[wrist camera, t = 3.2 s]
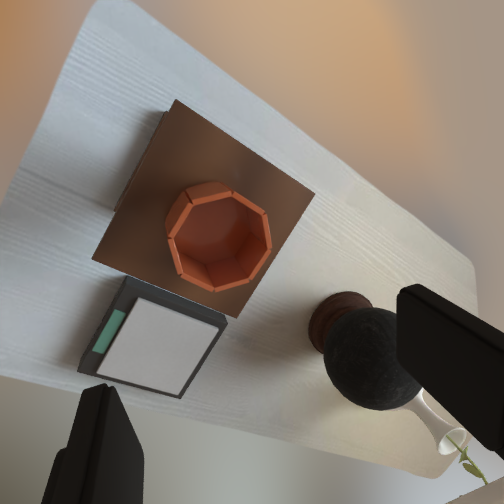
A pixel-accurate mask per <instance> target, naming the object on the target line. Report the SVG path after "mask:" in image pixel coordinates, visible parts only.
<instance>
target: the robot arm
mask: <svg viewBox="0 0 504 504" xmlns="http://www.w3.org/2000/svg"><path fill="white" fill-rule="evenodd" d="M396 356H397V360H398V362H399V364H400V365H401V367H402V368H403V369H404V370H405V371H407V372H408V373H409V374H410V375H411V376H412V377H413V378H414V379H415V380H416V381H417V382H418V383H419V384H420V385H421V386H422V387H423V388H424V389H425V390H426V391H427V392H428V393H429V394H430V395H431V396H432V397H433V398H434V399H435V400H437V401H438V402H439V403H440V404H441V405H442V406H443V407H444V408H445V409H446V410H447V411H448V412H449V413H450V414H451V415H452V416H453V417H454V418H455V419H456V420H457V421H458V422H459V423H460V424H461V425H462V426H463V427H464V428H465V429H467V430H468V431H469V432H470V433H471V434H472V435H473V436H474V437H475V438H476V439H477V440H478V441H479V442H480V443H481V444H482V445H483V446H484V447H485V448H487V449H488V450H490V451H495V452H496V453H497V454H498V455H499V456H500V457H501V458H502V459H503V460H504V333H503V332H501V331H500V330H498V329H496V328H494V327H493V326H491V325H489V324H488V323H486V322H484V321H483V320H481V319H479V318H477V317H476V316H474V315H472V314H471V313H469V312H467V311H465V310H464V309H462V308H460V307H459V306H457V305H455V304H453V303H452V302H450V301H448V300H447V299H445V298H443V297H442V296H440V295H438V294H436V293H435V292H433V291H431V290H430V289H428V288H426V287H424V286H423V285H421V284H414V285H411V286H408V287H404V288H402V289H401V290H400V293H399V294H398V295H397V306H396ZM143 482H144V454H143V450H142V447H141V444H140V443H139V440H138V438H137V436H136V433H135V431H134V429H133V426H132V424H131V422H130V420H129V417H128V415H127V413H126V411H125V409H124V406H123V404H122V402H121V400H120V397H119V395H118V393H117V391H116V388H115V387H114V386H111V387H108V386H107V384H106V383H103V384H100V385H97V386H94V387H91V388H87V389H84V390H83V392H82V394H81V398H80V401H79V405H78V408H77V412H76V416H75V419H74V423H73V426H72V430H71V433H70V437H69V441H68V444H67V447H66V448H63V449H61V450H60V451H59V452H58V453H57V455H56V457H55V460H54V463H53V467H52V470H51V473H50V476H49V479H48V483H47V486H46V489H45V492H44V496H43V499H42V502H41V504H143ZM446 504H504V477H502V478H500V479H498V480H496V481H493V482H491V483H489V484H487V485H485V486H482V487H480V488H478V489H476V490H474V491H472V492H470V493H467V494H465V495H463V496H461V497H459V498H457V499H455V500H452V501H450V502H448V503H446Z"/></svg>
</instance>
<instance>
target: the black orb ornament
mask: <svg viewBox="0 0 504 504" xmlns="http://www.w3.org/2000/svg"><path fill="white" fill-rule="evenodd" d="M308 334H309V338H310V341H311V343H312V344H313V346H314V347H315V348H316V349H317V350H318V351H319V352H321V353H322V354H324V363H325V367H326V371H327V374H328V375H329V377H330V379H331V381H332V383H333V385H334V386H335V387H336V388H337V389H338V390H339V392H340V393H341V394H342V395H343V396H344V397H346V398H347V399H348V400H350V401H351V402H353V403H355V404H356V405H359V406H361V407H364V408H367V409H372V410H380V411H383V410H390V409H395V408H398V407H401V406H404V405H405V404H407V403H408V402H410V401H411V400H413V399H414V397H415V396H416V395H417V394H418V393H419V392H420V390H421V389H422V386H421V385H420V384H419V383H418V382H417V381H416V380H415V379H414V378H413V377H412V376H411V375H410V374H409V373H408V372H407V371H405V370H404V369H403V368H402V367H401V365H400V364H399V362H398V360H397V356H396V314H395V313H393V312H391V311H388V310H385V309H381V308H374V307H373V306H372V304H371V303H370V301H369V300H368V299H366V298H365V297H364V296H363V295H361V294H359V293H356V292H341V293H338V294H335V295H333V296H331V297H329V298H328V299H326V300H325V301H324V302H323V303H321V304H320V305H319V307H318V308H317V309H316V310H315V312H314V314H313V315H312V317H311V320H310V323H309V328H308Z"/></svg>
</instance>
